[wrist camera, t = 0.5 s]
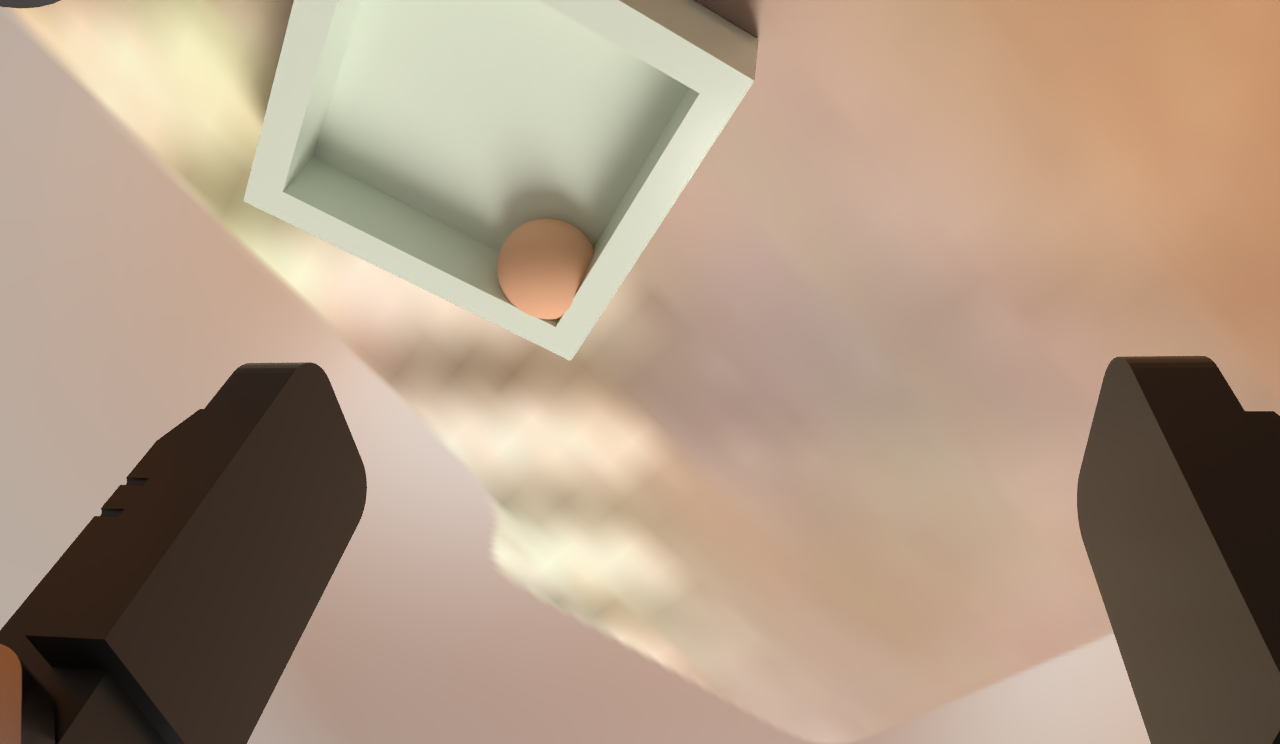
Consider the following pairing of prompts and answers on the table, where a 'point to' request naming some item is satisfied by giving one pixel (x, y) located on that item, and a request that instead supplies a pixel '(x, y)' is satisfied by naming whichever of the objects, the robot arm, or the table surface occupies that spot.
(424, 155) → the tray
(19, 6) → the cylinder
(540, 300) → the ball
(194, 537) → the robot arm
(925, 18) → the table surface
